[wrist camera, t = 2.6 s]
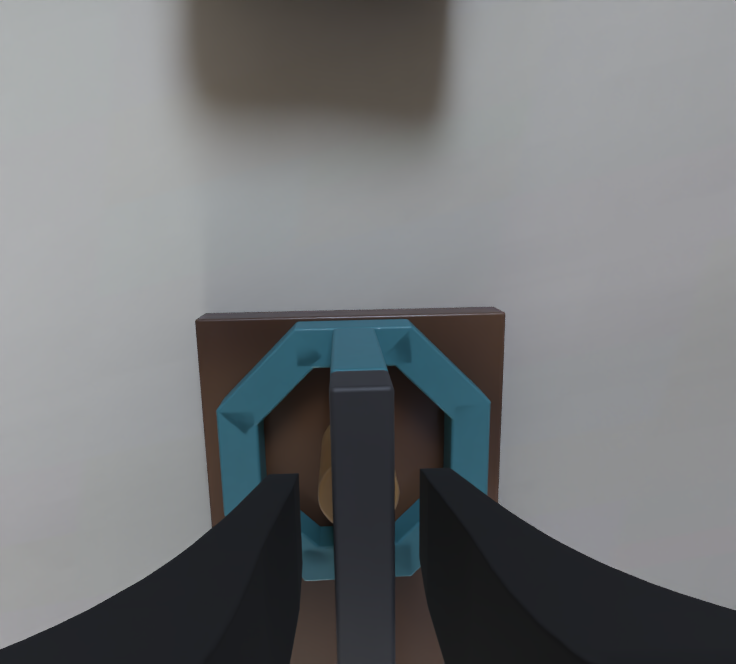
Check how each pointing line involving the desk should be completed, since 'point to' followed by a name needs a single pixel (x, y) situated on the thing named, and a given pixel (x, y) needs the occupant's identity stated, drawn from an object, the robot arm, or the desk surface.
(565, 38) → the desk surface
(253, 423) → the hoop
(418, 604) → the rack
